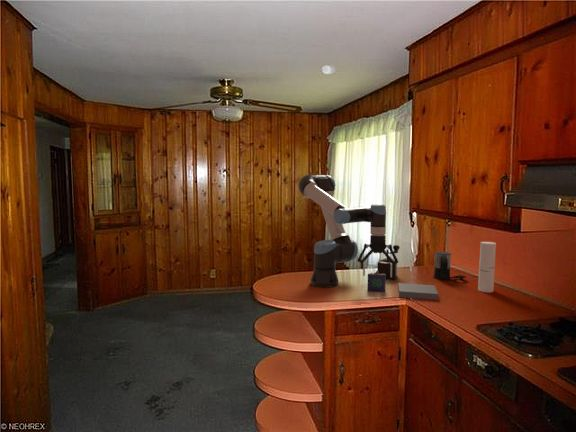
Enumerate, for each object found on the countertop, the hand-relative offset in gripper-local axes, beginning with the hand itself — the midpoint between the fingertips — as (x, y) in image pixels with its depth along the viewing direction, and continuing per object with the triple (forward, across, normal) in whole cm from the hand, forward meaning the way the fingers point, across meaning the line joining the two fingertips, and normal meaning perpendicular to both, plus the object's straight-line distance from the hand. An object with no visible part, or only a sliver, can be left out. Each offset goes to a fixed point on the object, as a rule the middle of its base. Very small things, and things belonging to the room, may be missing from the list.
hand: (377, 276), depth 207 cm
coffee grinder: (+8, +6, +32) cm, 34 cm away
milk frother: (+8, +40, +35) cm, 54 cm away
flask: (+8, 0, 0) cm, 8 cm away
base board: (+8, +20, 0) cm, 21 cm away
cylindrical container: (+9, +55, +15) cm, 57 cm away
